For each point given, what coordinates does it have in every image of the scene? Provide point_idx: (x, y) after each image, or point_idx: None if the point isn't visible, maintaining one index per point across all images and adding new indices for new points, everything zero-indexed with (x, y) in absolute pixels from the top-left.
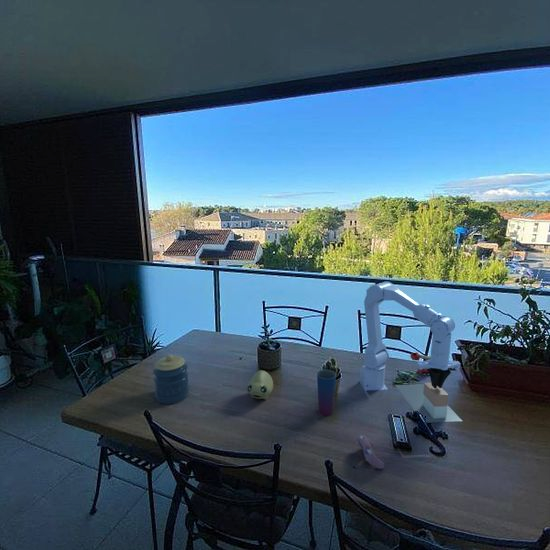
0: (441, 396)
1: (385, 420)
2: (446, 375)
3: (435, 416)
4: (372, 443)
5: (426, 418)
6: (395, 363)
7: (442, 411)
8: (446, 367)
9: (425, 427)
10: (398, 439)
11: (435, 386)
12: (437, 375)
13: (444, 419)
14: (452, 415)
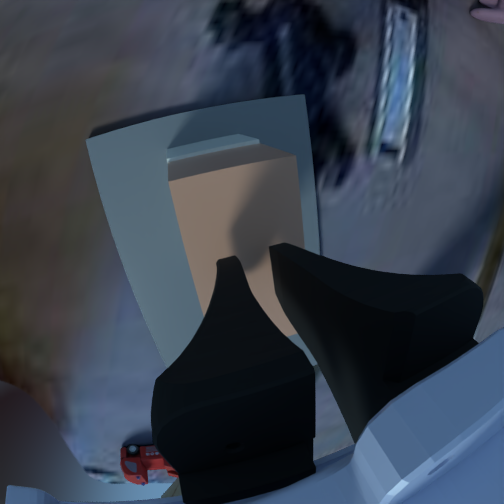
0: (234, 162)
1: (428, 123)
2: (225, 344)
3: (231, 136)
4: (480, 9)
5: (276, 129)
6: None
7: (195, 147)
8: (418, 484)
9: (296, 72)
10: (411, 19)
11: (291, 245)
12: (390, 293)
13: (180, 133)
14: (124, 180)
